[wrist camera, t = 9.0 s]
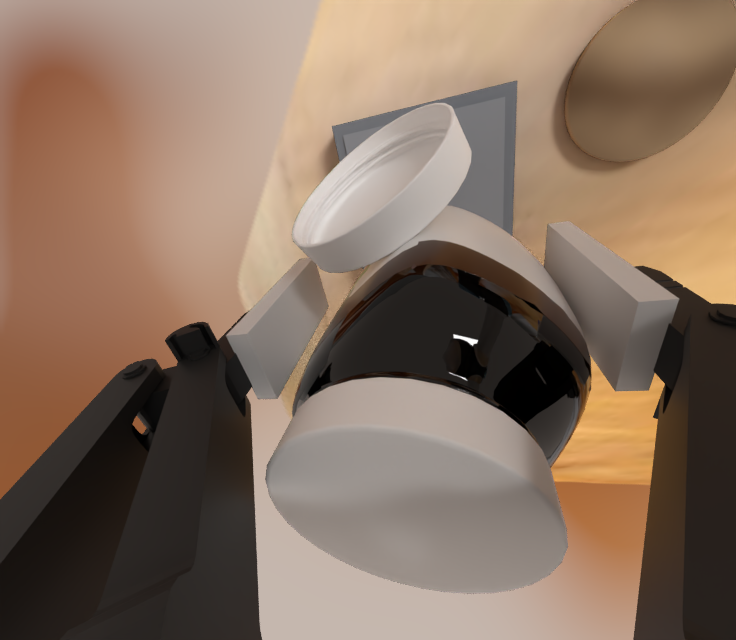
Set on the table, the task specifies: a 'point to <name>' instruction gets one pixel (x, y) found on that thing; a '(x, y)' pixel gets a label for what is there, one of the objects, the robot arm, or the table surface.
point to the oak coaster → (650, 77)
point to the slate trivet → (486, 140)
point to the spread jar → (430, 378)
